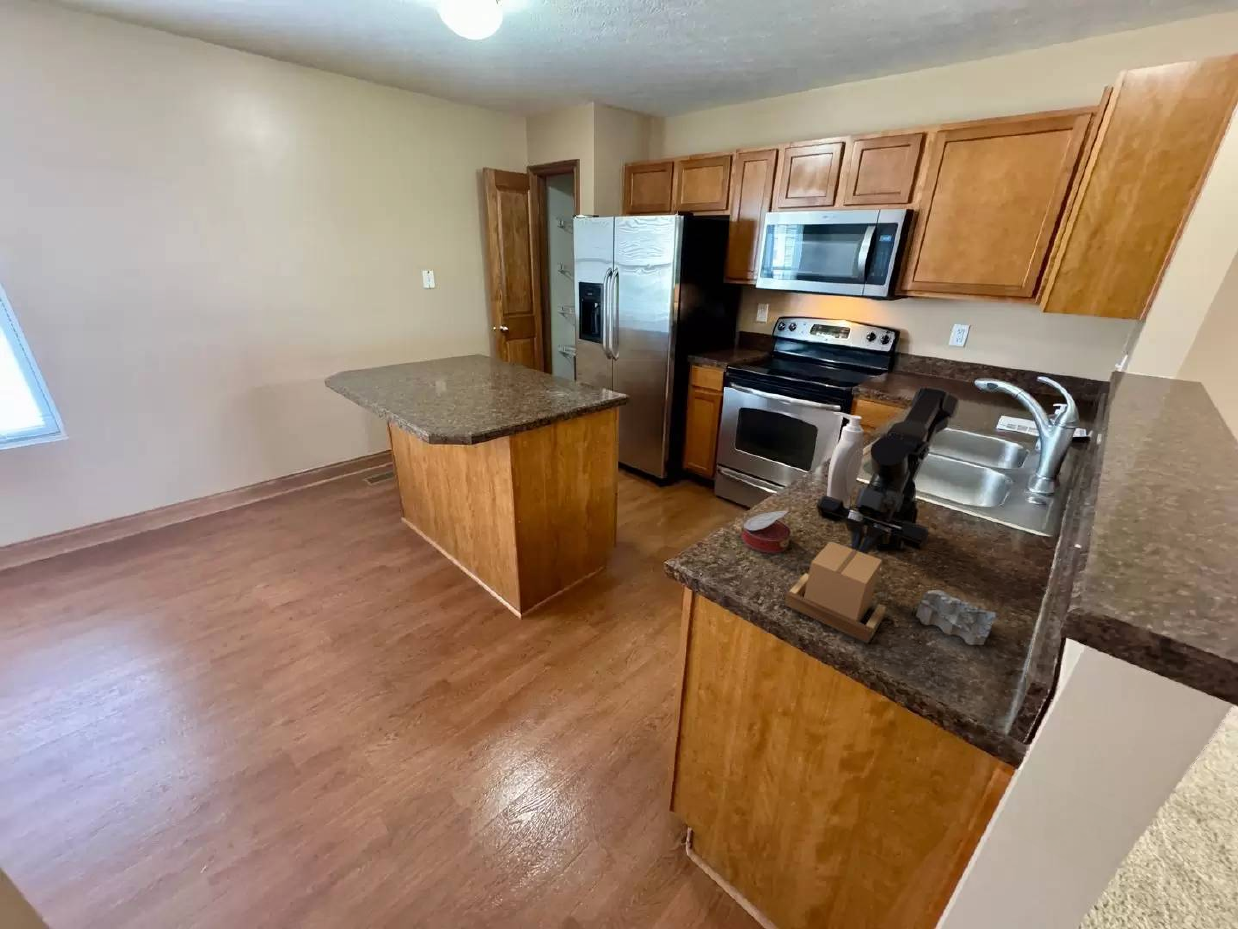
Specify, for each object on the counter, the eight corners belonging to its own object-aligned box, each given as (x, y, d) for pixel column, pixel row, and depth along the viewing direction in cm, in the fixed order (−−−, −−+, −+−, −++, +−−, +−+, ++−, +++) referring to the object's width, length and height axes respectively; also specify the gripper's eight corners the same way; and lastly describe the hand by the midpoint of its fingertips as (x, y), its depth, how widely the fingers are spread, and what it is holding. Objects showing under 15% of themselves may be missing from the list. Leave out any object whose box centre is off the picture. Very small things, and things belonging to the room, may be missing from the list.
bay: (803, 583, 98) (805, 573, 97) (882, 618, 90) (886, 606, 89) (784, 605, 92) (786, 594, 91) (867, 644, 84) (871, 632, 83)
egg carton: (910, 618, 90) (916, 600, 88) (925, 600, 94) (931, 582, 93) (980, 652, 83) (988, 632, 81) (993, 630, 87) (1000, 611, 86)
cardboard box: (820, 585, 98) (830, 540, 94) (870, 606, 92) (882, 559, 88) (801, 608, 91) (811, 561, 87) (853, 632, 86) (866, 583, 82)
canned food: (759, 570, 110) (746, 539, 104) (741, 541, 118) (727, 511, 113) (807, 547, 109) (796, 514, 104) (785, 519, 117) (774, 488, 112)
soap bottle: (827, 496, 132) (846, 405, 123) (857, 507, 127) (879, 413, 117) (802, 512, 124) (820, 416, 114) (833, 524, 119) (855, 425, 109)
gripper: (829, 455, 95) (795, 529, 92) (943, 486, 84) (909, 571, 81) (836, 481, 104) (805, 549, 100) (940, 512, 93) (909, 589, 89)
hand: (852, 563), depth 92 cm, fingers closed, pressing on cardboard box
